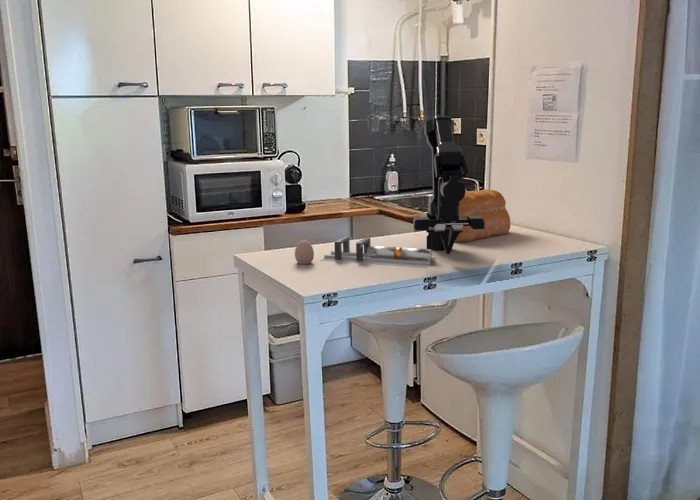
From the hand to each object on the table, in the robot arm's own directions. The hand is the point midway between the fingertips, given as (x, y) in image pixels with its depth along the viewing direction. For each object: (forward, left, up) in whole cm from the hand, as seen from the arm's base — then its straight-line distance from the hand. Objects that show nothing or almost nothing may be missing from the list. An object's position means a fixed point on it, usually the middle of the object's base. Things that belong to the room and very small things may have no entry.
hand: (448, 253), depth 180 cm
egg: (+38, +10, -4) cm, 40 cm away
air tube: (+14, 0, -3) cm, 14 cm away
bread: (+1, -44, -4) cm, 44 cm away
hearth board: (+20, 0, -4) cm, 20 cm away
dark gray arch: (+24, 0, -3) cm, 25 cm away
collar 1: (+31, 0, -3) cm, 31 cm away
